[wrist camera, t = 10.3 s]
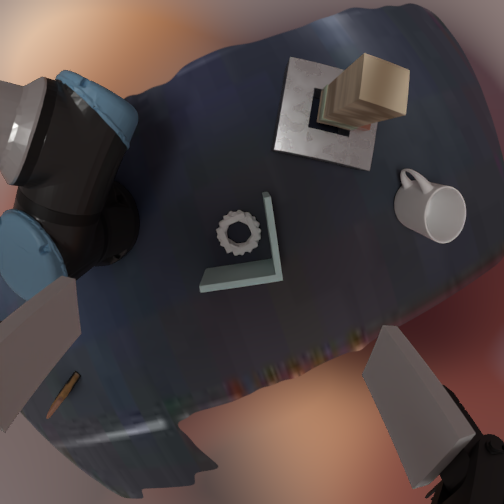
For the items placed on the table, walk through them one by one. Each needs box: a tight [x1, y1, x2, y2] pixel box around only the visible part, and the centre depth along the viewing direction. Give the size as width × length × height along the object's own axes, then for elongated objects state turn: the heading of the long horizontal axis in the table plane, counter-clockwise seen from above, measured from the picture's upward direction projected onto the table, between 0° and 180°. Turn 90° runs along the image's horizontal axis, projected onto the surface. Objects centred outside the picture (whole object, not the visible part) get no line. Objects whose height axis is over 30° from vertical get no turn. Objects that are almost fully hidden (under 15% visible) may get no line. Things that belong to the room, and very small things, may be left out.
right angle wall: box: [199, 192, 283, 293], centre depth 45 cm, size 12×12×8 cm
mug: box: [394, 169, 466, 243], centre depth 41 cm, size 9×12×11 cm
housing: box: [271, 57, 378, 171], centre depth 39 cm, size 14×14×8 cm
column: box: [317, 53, 410, 130], centre depth 28 cm, size 5×5×16 cm
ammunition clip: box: [46, 371, 81, 419], centre depth 53 cm, size 11×2×12 cm, turn 135°
